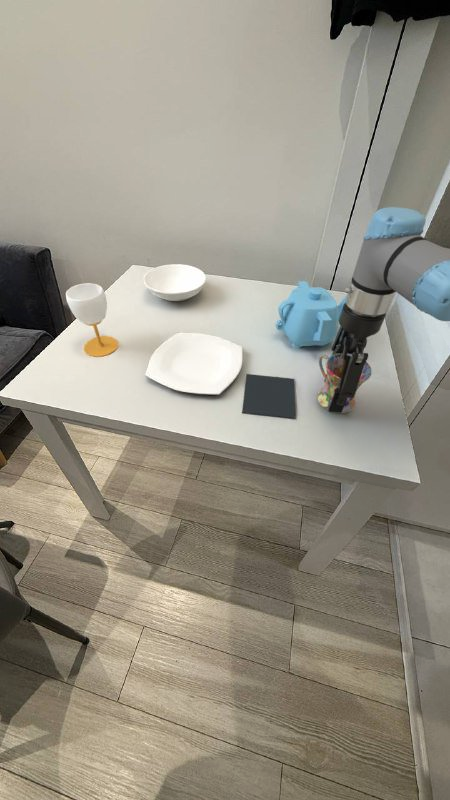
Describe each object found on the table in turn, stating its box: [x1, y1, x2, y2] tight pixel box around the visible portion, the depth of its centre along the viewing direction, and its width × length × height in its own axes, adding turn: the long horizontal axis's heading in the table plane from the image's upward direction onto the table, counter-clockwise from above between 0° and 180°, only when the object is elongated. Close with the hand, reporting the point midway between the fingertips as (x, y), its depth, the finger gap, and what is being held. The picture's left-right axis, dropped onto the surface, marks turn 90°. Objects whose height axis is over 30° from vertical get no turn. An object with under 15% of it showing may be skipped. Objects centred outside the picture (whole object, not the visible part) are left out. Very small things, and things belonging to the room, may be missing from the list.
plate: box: [145, 332, 244, 396], centre depth 83 cm, size 23×23×2 cm
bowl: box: [142, 263, 207, 302], centre depth 106 cm, size 20×20×6 cm
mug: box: [316, 353, 373, 414], centre depth 72 cm, size 12×9×11 cm
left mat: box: [241, 373, 297, 420], centre depth 77 cm, size 13×12×1 cm
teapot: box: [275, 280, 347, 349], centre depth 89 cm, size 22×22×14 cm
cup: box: [65, 282, 119, 358], centre depth 83 cm, size 9×9×16 cm
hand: (332, 395), depth 75 cm, fingers closed on mug, 9 cm apart
